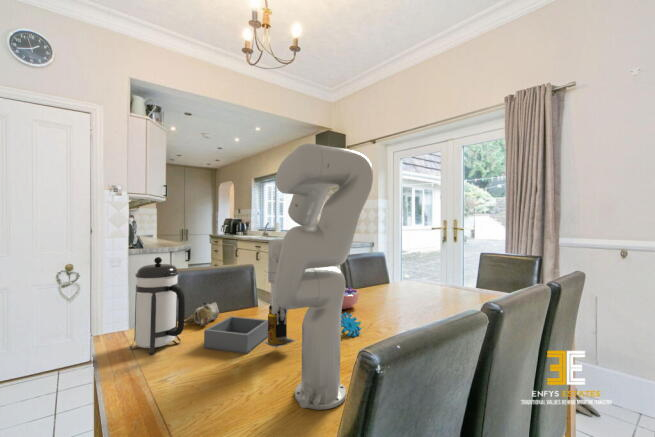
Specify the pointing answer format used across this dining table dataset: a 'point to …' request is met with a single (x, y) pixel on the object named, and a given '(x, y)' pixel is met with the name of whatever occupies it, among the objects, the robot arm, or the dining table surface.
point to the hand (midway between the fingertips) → (279, 332)
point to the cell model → (350, 298)
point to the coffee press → (158, 306)
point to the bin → (236, 334)
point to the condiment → (272, 337)
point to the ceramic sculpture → (204, 314)
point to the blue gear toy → (350, 324)
